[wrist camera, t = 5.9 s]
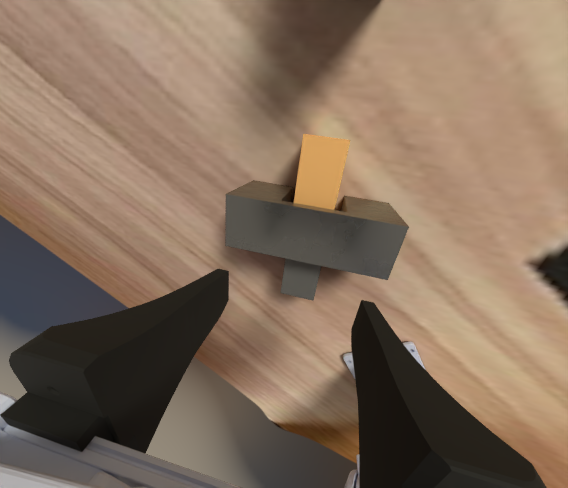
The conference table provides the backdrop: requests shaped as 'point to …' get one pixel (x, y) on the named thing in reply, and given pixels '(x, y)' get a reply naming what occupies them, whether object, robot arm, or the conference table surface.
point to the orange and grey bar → (314, 201)
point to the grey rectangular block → (315, 229)
